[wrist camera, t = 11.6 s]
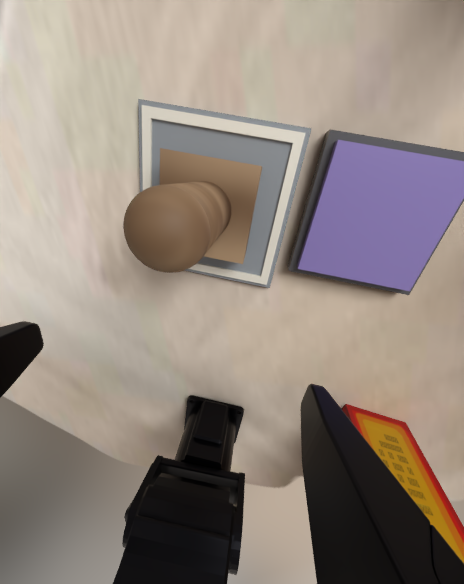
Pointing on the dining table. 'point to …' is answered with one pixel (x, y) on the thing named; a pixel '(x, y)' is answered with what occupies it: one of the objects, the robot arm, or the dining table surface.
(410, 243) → the ink pad
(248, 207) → the stamp
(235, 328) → the dining table surface
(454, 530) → the baking soda box
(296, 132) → the print card
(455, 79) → the dining table surface
